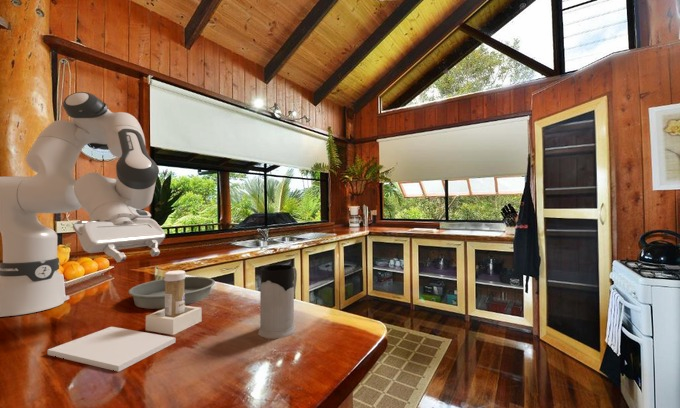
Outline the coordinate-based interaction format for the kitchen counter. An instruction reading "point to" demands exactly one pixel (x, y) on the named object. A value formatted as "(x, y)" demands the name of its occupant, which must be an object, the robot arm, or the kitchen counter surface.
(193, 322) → the stand
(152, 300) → the cake pan
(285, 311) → the grey ceramic mug
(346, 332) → the kitchen counter surface
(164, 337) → the white board
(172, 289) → the sprinkles bottle
